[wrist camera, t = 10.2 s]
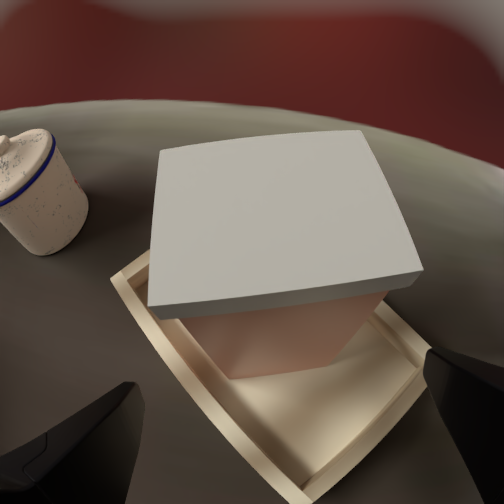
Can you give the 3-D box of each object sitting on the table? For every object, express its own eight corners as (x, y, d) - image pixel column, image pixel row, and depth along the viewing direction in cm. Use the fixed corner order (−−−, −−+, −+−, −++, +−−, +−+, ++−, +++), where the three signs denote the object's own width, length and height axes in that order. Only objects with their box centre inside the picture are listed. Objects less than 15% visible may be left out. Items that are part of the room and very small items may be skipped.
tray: (426, 370, 20) (445, 361, 17) (296, 501, 16) (300, 512, 13) (249, 205, 28) (246, 182, 26) (125, 295, 24) (109, 278, 22)
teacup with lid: (105, 190, 31) (59, 100, 21) (68, 266, 26) (-6, 183, 16) (33, 186, 32) (-13, 117, 22) (-2, 249, 28) (-63, 184, 18)
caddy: (332, 369, 20) (423, 270, 8) (224, 384, 19) (147, 306, 7) (317, 292, 22) (360, 130, 10) (218, 305, 22) (160, 150, 10)
